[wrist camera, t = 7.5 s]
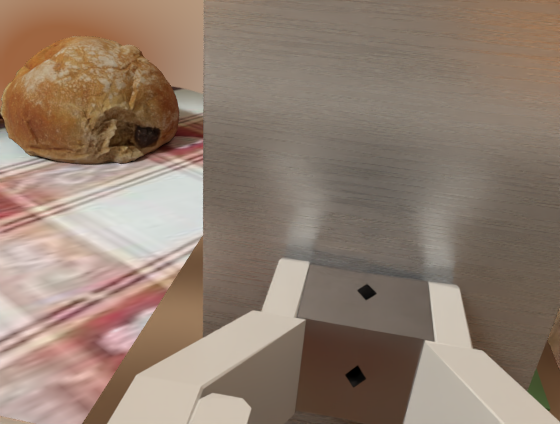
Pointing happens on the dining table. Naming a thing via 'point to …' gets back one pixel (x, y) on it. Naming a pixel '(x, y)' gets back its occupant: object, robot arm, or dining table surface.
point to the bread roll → (89, 103)
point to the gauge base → (189, 328)
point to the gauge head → (387, 156)
